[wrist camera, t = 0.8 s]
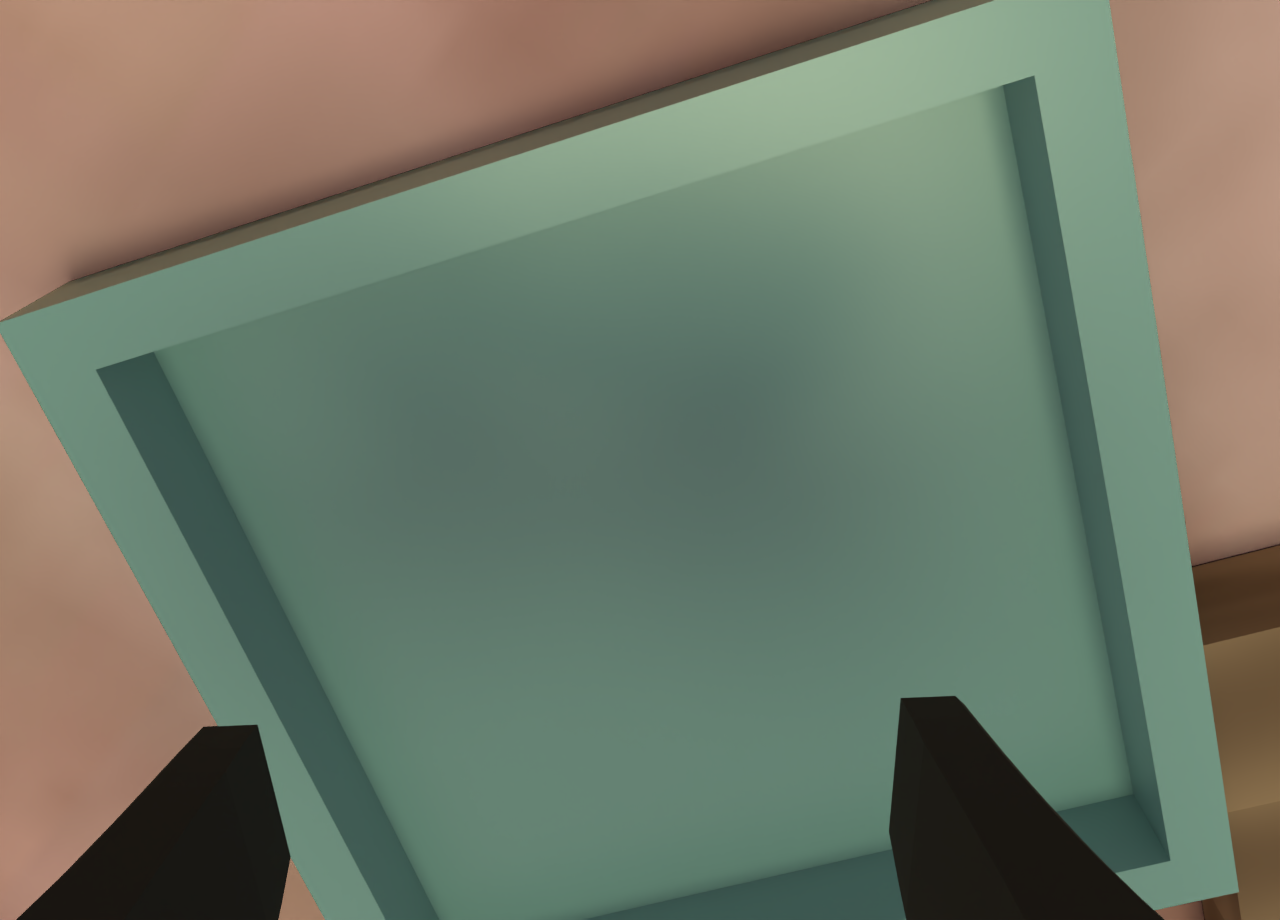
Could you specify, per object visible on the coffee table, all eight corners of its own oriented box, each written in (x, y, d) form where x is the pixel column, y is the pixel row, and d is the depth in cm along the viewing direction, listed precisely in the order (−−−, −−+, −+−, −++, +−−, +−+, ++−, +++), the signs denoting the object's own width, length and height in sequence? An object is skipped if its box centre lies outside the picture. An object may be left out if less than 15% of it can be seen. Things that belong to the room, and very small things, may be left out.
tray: (1186, 805, 26) (1238, 892, 24) (429, 975, 28) (408, 1070, 26) (1048, -38, 19) (1103, -36, 17) (68, 282, 22) (-6, 323, 19)
